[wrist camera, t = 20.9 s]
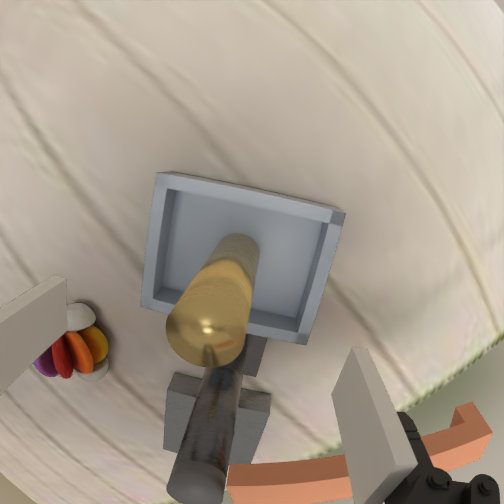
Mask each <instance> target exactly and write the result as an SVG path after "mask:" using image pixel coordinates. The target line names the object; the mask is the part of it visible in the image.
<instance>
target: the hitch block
mask: <svg viewBox="0 0 504 504" xmlns="http://www.w3.org/2000/svg"><path fill="white" fill-rule="evenodd" d="M201 381H202V379H199V378H195V377H191V376H187V375H183V374H180V373H176V372H175V374H174V376H173V378H172V380H171V383H170V385H169V387H168V389H167V398H166V411H165V426H164V444H163V449H165V450H168V451H172V452H176V453H178V451H179V448H180V445H181V442H182V439H183V436H184V433H185V430H186V427H187V424H188V421H189V418H190V415H191V412H192V409H193V406H194V403H195V400H196V397H197V394H198V390H199V387H200V384H201ZM269 414H270V394H268V393H262V392H257V391H252V390H247V389H242V388H241V391H240V397H239V404H238V410H237V416H236V422H235V428H234V434H233V440H232V446H231V453H230V459H229V465H230V464H251V461H252V459H253V456H254V454H255V451H256V449H257V446H258V443H259V441H260V438H261V436H262V433H263V430H264V428H265V425H266V422H267V420H268V417H269Z"/></svg>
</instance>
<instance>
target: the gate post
mask: <svg viewBox="0 0 504 504" xmlns="http://www.w3.org/2000/svg"><path fill="white" fill-rule="evenodd" d="M266 341H267V337H262V336H257V335H253V334H248V333H246V336H245V341H244V346H243V349H242V350H241V352H240V354H239V355H238V356H237V357H236V358H235V359H234V360H233V361H231V362H230V363H228V364H226V365H223V366H219V367H206V369H205V372H204V375H203V378H202V381H201V384H200V387H199V390H198V394H197V397H196V400H195V403H194V406H193V409H192V412H191V415H190V418H189V421H188V424H187V427H186V430H185V433H184V436H183V439H182V442H181V445H180V448H179V451H178V454H177V457H176V460H175V463H174V465H175V464H176V463H178V462H181V461H187V460H192V461H200V462H204V463H207V464H210V465H212V466H214V467H216V468H218V469H219V470H221V471H222V472H223V473H224V475H225V477H227V471H228V465H229V459H230V453H231V446H232V440H233V434H234V428H235V422H236V416H237V410H238V404H239V397H240V391H241V385H242V379H243V374H245V375H249V376H254V377H256V376H257V372H258V369H259V365H260V362H261V358H262V355H263V351H264V348H265V344H266ZM173 467H174V466H173Z"/></svg>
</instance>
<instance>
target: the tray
mask: <svg viewBox="0 0 504 504" xmlns="http://www.w3.org/2000/svg"><path fill="white" fill-rule="evenodd" d="M345 214H346V213H344V212H343V211H342V210H340V209H339V208H337V207H333V206H329V205H325V204H321V203H317V202H313V201H309V200H305V199H301V198H297V197H292V196H288V195H284V194H279V193H275V192H271V191H266V190H262V189H257V188H252V187H248V186H243V185H238V184H233V183H228V182H224V181H219V180H213V179H208V178H203V177H198V176H193V175H187V174H182V173H176V172H171V171H170V172H159V173H157V175H156V181H155V187H154V193H153V199H152V206H151V213H150V220H149V228H148V235H147V244H146V252H145V262H144V271H143V282H142V294H141V307H144V308H148V309H151V310H155V311H158V312H162V313H166V314H170V312H171V311H172V309H173V308H174V306H175V305H176V303H177V302H178V301H179V299H180V298H181V296H182V295H183V293H184V292H185V290H186V289H187V288H188V286H189V285H190V283H191V282H192V280H193V279H194V277H195V276H196V275H197V273H198V272H199V270H200V269H201V267H202V266H203V265H204V263H205V262H206V260H207V259H208V258H209V256H210V255H211V253H212V252H213V251H214V249H215V248H216V246H217V245H218V243H219V242H220V241H221V240H222V239H223V238H224V237H225V236H227V235H229V234H233V233H242V234H245V235H247V236H249V237H251V238H252V239H253V240H254V241H255V242H256V244H257V245H258V248H259V252H260V258H259V264H258V270H257V275H256V281H255V286H254V292H253V297H252V303H251V308H250V314H249V319H248V325H247V330H246V333H248V334H253V335H257V336H262V337H267V338H272V339H277V340H282V341H287V342H292V343H297V344H302V345H306V344H307V341H308V338H309V335H310V332H311V329H312V326H313V323H314V320H315V317H316V314H317V311H318V308H319V305H320V302H321V298H322V295H323V292H324V289H325V285H326V282H327V279H328V275H329V272H330V269H331V265H332V262H333V258H334V255H335V251H336V248H337V244H338V240H339V237H340V233H341V229H342V226H343V222H344V218H345Z"/></svg>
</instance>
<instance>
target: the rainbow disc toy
mask: <svg viewBox="0 0 504 504" xmlns="http://www.w3.org/2000/svg"><path fill="white" fill-rule="evenodd" d="M67 319H68V330H67V331H66V332H65V333H64V334H63V335H62V336H61V337H60V338H59V339H57V340H56V341H55V342H54V343H53V344H52V345H51V346H50V347H49V348H48V349H47V350H46V351H45V352H44V353H42V354H41V355H40V356H39V357H38V358H37V359H36V360H35V361H34V362H33V363H32V364H34V365H35V367H36V368H37V370H38V371H39V372H40V373H42V374H43V375H45V376H48V377H55V376H60V377H63V378H65V379H67V378H70V377H71V376H72V375H73V374H74V373H75V372H76V373H77V375H78V376H79V377H81V378H82V379H84V380H86V381H98V380H100V379H101V378H103V377H104V376H105V374H106V373H107V370H108V359H107V358H106V355H107V353H108V349H109V344H108V341H107V339H106V337H105V336H104V334H103V333H102V332H101V331H100V330H99V329H98V328H96V327H95V326H93V325H92V324H93V323H94V322H95V320H96V316H95V314H94V312H93V311H92V310H91V309H90V308H89V307H88V306H87V305H85V304H82V303H73V304H70V305H68V306H67Z"/></svg>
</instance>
